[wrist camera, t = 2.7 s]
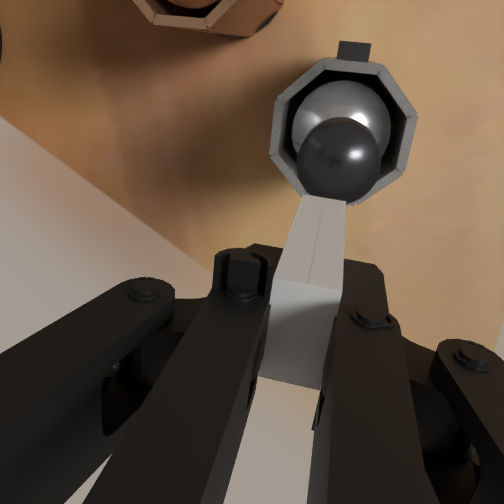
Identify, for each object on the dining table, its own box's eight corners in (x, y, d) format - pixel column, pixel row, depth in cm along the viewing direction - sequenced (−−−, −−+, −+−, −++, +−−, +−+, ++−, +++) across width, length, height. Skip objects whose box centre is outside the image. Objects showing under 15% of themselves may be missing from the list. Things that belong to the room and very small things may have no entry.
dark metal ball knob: (287, 171, 33) (264, 219, 23) (299, 75, 30) (278, 85, 20) (378, 183, 32) (392, 238, 22) (399, 85, 29) (425, 101, 20)
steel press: (285, 155, 44) (262, 195, 31) (299, 40, 40) (278, 34, 27) (382, 167, 43) (397, 215, 30) (407, 50, 38) (437, 48, 26)
